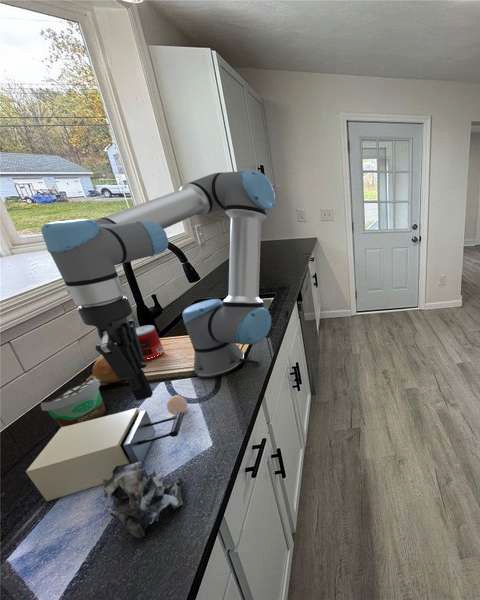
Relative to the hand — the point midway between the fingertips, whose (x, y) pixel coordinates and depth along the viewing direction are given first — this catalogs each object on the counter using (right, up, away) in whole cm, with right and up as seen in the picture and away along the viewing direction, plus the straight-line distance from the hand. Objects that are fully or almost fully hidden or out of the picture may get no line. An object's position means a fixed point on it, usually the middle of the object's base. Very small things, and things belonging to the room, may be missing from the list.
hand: (144, 396), depth 71 cm
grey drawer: (-5, -14, +3) cm, 15 cm away
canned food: (-35, +1, +47) cm, 59 cm away
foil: (+8, -19, -9) cm, 23 cm away
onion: (-36, -5, +33) cm, 49 cm away
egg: (-3, -10, +16) cm, 19 cm away
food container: (-28, -11, +16) cm, 34 cm away
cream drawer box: (-11, -16, +1) cm, 19 cm away
